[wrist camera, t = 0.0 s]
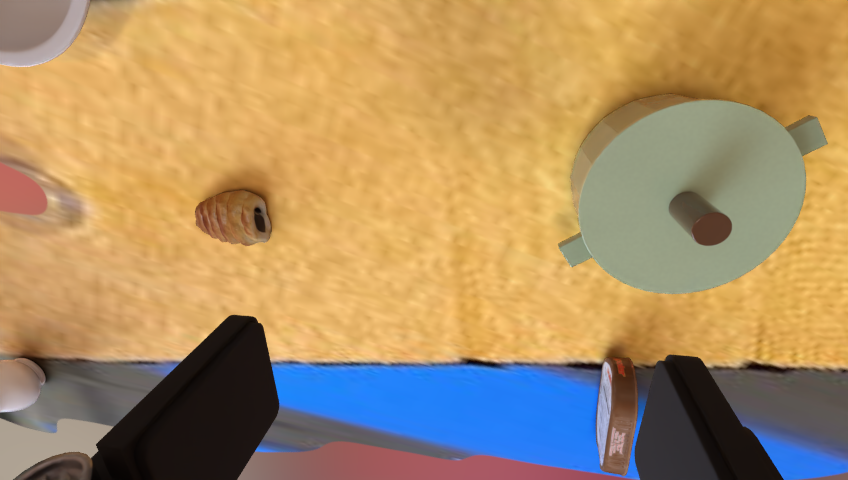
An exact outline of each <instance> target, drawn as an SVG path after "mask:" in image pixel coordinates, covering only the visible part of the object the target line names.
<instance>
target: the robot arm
mask: <svg viewBox="0 0 848 480" xmlns="http://www.w3.org/2000/svg"><path fill="white" fill-rule="evenodd" d="M278 410H279V399H278V395H277V390H276V385H275V380H274V376H273V371H272V366H271V362H270V357H269V352H268V347H267V343H266V338H265V333H264V328H263V326H262V324H260V323H258V321H257V319H256V318H255V317H251V316H240V315H231V316H229V317H228V318H226V319H225V320H224V321H223V322H222V323H221V324H220V325H219V326H218V327H217V328H216V329H215V330H214V331H213V332H212V333H211V334H210V335H209V336H208V337H207V338H206V339H205V340H204V341H203V342H202V343H201V344H200V345H198V346H197V347H196V348H195V349H194V350H193V351H192V352H191V353H190V354H189V355H188V356H187V357H186V358H185V359H184V360H183V361H182V362H181V363H180V364H179V365H178V366H177V367H176V368H175V369H174V370H173V371H172V372H170V373H169V374H168V375H167V376H166V377H165V378H164V379H163V380H162V381H161V382H160V383H159V384H158V385H157V386H156V387H155V388H154V389H153V390H152V391H151V392H150V393H149V394H148V395H147V396H146V397H145V398H144V399H142V400H141V401H140V402H139V403H138V404H137V405H136V406H135V407H134V408H133V409H132V410H131V411H130V412H129V413H128V414H127V415H126V416H125V417H124V418H123V419H122V420H121V421H120V422H119V423H118V424H117V425H116V426H115V427H113V428H112V429H111V431H110V432H108V433H107V434H106V435H105V436H104V437H103V438H102V439H101V440H100V441H99V442H98V443H97V444H96V446H97V448H98V450H99V451H98V452H97V453H96V454H95V455H94V456H93V457H92V458H90V457H89V456H88V455H87V454H84V453H80V452H68V453H63V454H59V455H55V456H52V457H50V458H47V459H45V460H43V461H41V462H38V463H37V464H35V465H33V466H32V467H30V468H28V469H27V470H25V471H24V472H22V473H21V474H20V475H18V476H17V477H16V478H15V479H13V480H237V479H238V477H239V476H240V474H241V472H242V471H243V469H244V468H245V466H246V464H247V463H248V461H249V459H250V458H251V456H252V455H253V453H254V452H255V450H256V448H257V447H258V445H259V444H260V442H261V440H262V439H263V437H264V436H265V434H266V433H267V431H268V429H269V428H270V426H271V425H272V423H273V421H274V420H275V418H276V416H277V414H278ZM635 463H636V467H637V470H638V474H639V477H640V480H784V479H783V478H782V476H781V475H780V473H779V471H778V470H777V468H776V467H775V465H774V464H773V462H772V460H771V459H770V457H769V456H768V454H767V453H766V451H765V449H764V448H763V446H762V445H761V443H760V442H759V440H758V438H757V437H756V436H755V435H754V433H753V432H752V431H751V430H750V429H748V428H746V427H743V426H742V425H741V423H740V421H739V420H738V418H737V416H736V415H735V413H734V412H733V410H732V408H731V407H730V405H729V404H728V402H727V400H726V399H725V397H724V395H723V394H722V392H721V391H720V389H719V387H718V386H717V384H716V382H715V381H714V379H713V378H712V376H711V374H710V373H709V371H708V369H707V368H706V366H705V365H704V363H703V361H702V360H701V359H700V358H698V357H691V356H680V355H668V356H667V357H666V359H665V361H658V362H657V364H656V366H655V370H654V374H653V378H652V382H651V386H650V390H649V394H648V398H647V402H646V406H645V410H644V414H643V418H642V422H641V426H640V430H639V434H638V438H637V442H636V446H635Z"/></svg>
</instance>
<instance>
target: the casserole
mask: <svg viewBox="0 0 848 480" xmlns="http://www.w3.org/2000/svg"><path fill="white" fill-rule="evenodd" d="M697 99H698V98H693V97H687V96H682V95H677V94H671V93H670V94H664V95H657V96H650V97H646V98H642V99H639V100H635V101H632V102H630V103H628V104H626V105H624V106H622V107H620V108H619V109H617V110H615V111H614V112H612V113H611V114H609V115H608V116H606V117H605V118H604V119H602V120H601V121H600V122H599V123H598V124H597V125H596V126H595V127H594V129H593V130H592V131H591V132H590V133H589V134H588V136H587V137H586V139H585V140H584V141H583V143H582V145H581V146H580V148H579V150H578V153H577V155H576V158H575V160H574V164H573V168H572V173H571V177H570V178H571V191H572V197H573V205H574V207H575V210H576V212H577V214H578V201H579V194H580V190H581V187H582V183H583V181H584V178H585V176H586V173H587V171H588V169H589V167H590V166H591V164H592V162H593V161H594V159H595V158H596V156H597V155H598V154H599V152H600V151H601V150H602V148H603V147H604V146H605V145H606V144H607V143H608V142H609V141H610V140H611V139H612V138H613V137H614V136H615V135H616V134H617V133H619V132H620V131H621V130H622V129H623V128H624V127H626V126H627V125H629V124H630V123H632V122H633V121H635V120H637V119H638V118H640V117H642V116H644V115H646V114H648V113H650V112H652V111H654V110H657V109H659V108H662V107H665V106H667V105H671V104H675V103H679V102H683V101H690V100H697ZM785 128H786V130H787V131H788V132H789V133H790V135H791V136H792V137H793V138H794V140H795V142H796V144H797V146H798V147H799V149H800V152H801V155H802V156H804V155H806V154H808V153H810V152H812V151H814V150H816V149H818V148H820V147H822V146H824V145H826V144H828V143H827V140H826V138H825V135H824V133H823V130H822V128H821V126H820V123H819V121H818V118H817V117H814V116H810V115H808V116H806V117H804V118H802V119H801V120H799V121H797V122H795V123H793V124H791V125H789V126H787V127H785ZM558 246H559V249H560V251H561V252H562V254H563V255H564V257H565V259H566V260H567V262H568V263H569V265H570V266H571V267H573V266H575V265H577V264H580V263H582V262H584V261H586V260H588V259H590V258H592V256H591V254H590V253H589V251H588V249H587V247H586V245H585V243H584V241H583V238H582V235H581V232H580V233H578V234H576V235H574V236H572V237H570V238H568V239H566V240H564V241H562V242H560V243H558Z"/></svg>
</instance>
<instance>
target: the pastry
mask: <svg viewBox="0 0 848 480" xmlns="http://www.w3.org/2000/svg"><path fill="white" fill-rule="evenodd" d="M195 215H196V226H198V227H199V228H200V229H201V230H202V231H203V232H205V233H207V234H209V235H210V236H211V237H212V238H215V239H217V238H218V239H219V240H220V241H222V242H229V243H231V244H238V243H241V244H243V245H245V246H250V245H253V244H255V243H259V242H264V243H265V242H267V241H268V240H269V238H270V233H271V224H270V221H269V218H268V216H267V214H266V205H265V202H264V201H263V200H262V199H261V198H260V197H259V196H257V195H255V194H253V193H251V192H248V191H243V190H239V191H233V192H225V193H222V194H219V195H216V196H214V197H211V198H209V199H206V200H205V201H203V202H200V203H199V205H198V206H197V207H196V210H195Z"/></svg>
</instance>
